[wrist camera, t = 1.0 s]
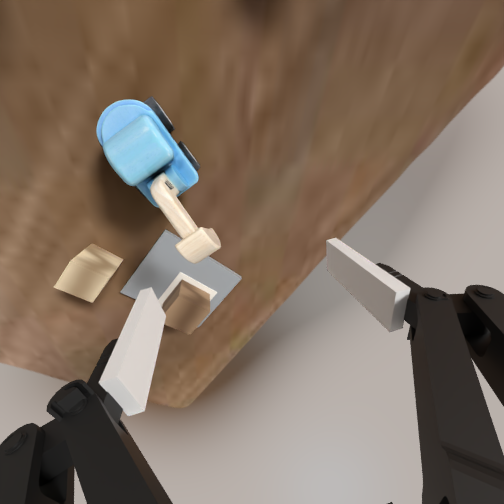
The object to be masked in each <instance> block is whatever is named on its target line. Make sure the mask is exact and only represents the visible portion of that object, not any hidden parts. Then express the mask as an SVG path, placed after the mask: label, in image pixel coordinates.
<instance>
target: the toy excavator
mask: <svg viewBox="0 0 504 504" xmlns="http://www.w3.org/2000/svg"><path fill="white" fill-rule="evenodd" d="M174 129H175V128H174V126H173V124H172V123H171V121H170V120H169V118H168V117H167V115H166V114H165V112H164V111H163V110H162V108H161V107H160V105H159V104H158V103H157V102H156V100H155V99H154V98H153V97H152V96H151V97H150V98H148V99H147V100H146V101H144V102H143V103H142V102H140V101H137V100H121V101H118V102H115V103H113V104H111V105H110V106H108V107H107V108H106V109H105V110H104V112H103V113H102V114H101V116H100V118H99V121H98V124H97V137H98V141H99V143H100V145H101V146H102V147H103V149H104V154H105V156H106V158H107V160H108V162H109V163H110V165H111V166H112V168H113V169H114V170H115V172H116V173H117V174H118V175H119V176H120V177H121V178H122V179H123V181H124V182H125V183H126V184H128V185H130V186H135V187H136V188H137V190H138V191H139V192H140V193H141V194H142V195H143V196H144V197H146V198H147V199H148V200H149V201H150V202H151V203H152V204H153V205H154V206H155V207H158V208H160V209H161V210H162V212H163V213H164V214H165V216H166V217H167V219H168V220H169V221H170V223H171V224H172V226H173V227H174V228H175V230H176V231H177V232H178V234H179V235H180V237H181V238H182V240H181V241H180V242H178V243H177V244H176V245H175V247H176V249H177V250H178V252H179V253H180V254H181V255H182V256H183V257H184V258H185V259H186V260H188V261H189V262H191V263H194V264H196V263H199V262H200V261H202V260H203V259H205V258H206V257H208V256H209V255H211V254H212V253H213V252H215V251H216V250H218V249H219V248H220V247H221V243H220V241H219V239H218V237H217V235H216V233H215V232H214V230H213V229H212V228H210V229H207V228H203V227H200V228H199V229H198V228H197V226H196V225H195V223H194V222H193V220H192V219H191V217H190V216H189V215H188V213H187V212H186V210H185V209H184V207H183V206H182V204H181V203H180V202H179V200H178V198H177V197H178V196H179V195H180V194H182V193H183V192H185V191H186V190H187V189H189V188H190V187H191V186H193V185H194V184H196V183H197V182H198V174H197V172H196V171H197V170H198V169H199V168H200V164H199V163H198V162H197V160H196V159H195V158H194V156H193V155H192V154H191V153H190V151H189V150H188V149H187V147H186V146H185V144H184V143H183V142H182V141H180V142H179V143H178V144H177V143H176V142H175V140H174V139H173V138H172V136H171V135H170V133H171V132H172V131H173V130H174Z"/></svg>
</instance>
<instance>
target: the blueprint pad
mask: <svg viewBox="0 0 504 504" xmlns="http://www.w3.org/2000/svg"><path fill="white" fill-rule="evenodd" d="M181 240H182V239H180V238H179V237H177V236H176V235H174V234H172V233H171V232H169V231H168V230H166V229H165V231H164V232H163V233H162V235H161V236H160V238H159V239H158V240H157V242H156V243H155V244H154V246H153V247H152V249H151V250H150V251H149V253H148V254H147V256H146V257H145V258H144V260H143V261H142V262H141V264H140V265H139V267H138V268H137V269H136V271H135V272H134V274H133V275H132V276H131V278H130V279H129V280H128V282H127V283H126V285H125V286H124V287H123V289H122V290H121V292H120V293H123V294H125V295H127V296H129V297H131V298H134V299H137V297H138V294H139V292H140V290H143V289H147V288H151V287H152V289H153V291H154V293H155V295H156V297H157V299H158V301H159V303H160V305H161V307H162V306H163V302H164V301H165V300H166V299H167V297H168V296H169V295H170V293H171V292H172V291H173V290H174V288H175V287H176V286H177V285H178V283H179V282H180V281H181V280H182V279H183V280H184V281H186V282H188V283H190V284H192V285H194V286H196V287H198V288H199V289H201V290H203V291H205V292H207V293H209V294H210V313H209V314H208V315H207V316H206V317H205V318H204V320H203V321H202V322H201V323H200V324H199V325H198V326H197V327H199V326H200V325H201V324H202V323H203V322H204V321H205V320H206V318H207V317H208V316H209V315H210V314H211V313H212V312H213V310H214V309H215V308H216V307H217V306H218V305H219V304H220V302H221V301H222V300H223V299H224V298H225V297H226V296H227V295H228V293H229V292H230V291H231V290H232V289H233V288H234V287H235V285H236V284H237V283H238V282H239V281H240V280H241V279H242V278H241V276H240V275H238V274H237V273H235V272H233V271H232V270H230V269H229V268H227V267H225V266H224V265H222V264H221V263H219V262H217V261H216V260H214V259H213V258H211V257H209V256H208V257H206V258H205V259H203V260H202V261H200V262H199V263H196V264H194V263H191V262H189V261H188V260H186V259H185V258H184V257H183V256H182V255H181V254H180V253H179V252H178V250H177V249H176V247H175V245H176V244H177V243H178V242H180V241H181Z"/></svg>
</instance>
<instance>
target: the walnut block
mask: <svg viewBox="0 0 504 504" xmlns="http://www.w3.org/2000/svg"><path fill="white" fill-rule="evenodd" d="M162 309H163V311H164V313H165V315H166V319H165V323H164V325H167V326H169V327H172V328H174V329H176V330H179V331H181V332H184V333H186V334H188V335H190V334H191V333H192V332H193V331H194V330H195V329H196V328H197V326H198V325H199V324H200V323H201V322H202V321H203V320H204V318H205V317H206V316H207V315H208V314H209V313H210V294H209V293H207V292H205V291H203V290H201V289H199V288H198V287H196V286H194V285H192V284H190V283H188V282H186V281H184V280H183V279H182V280H181V281H180V282H179V283H178V285H177V286H176V287H175V288H174V290H173V291H172V292H171V293H170V295H169V296H168V297H167V299H166V300H165V301H164V302H163V306H162Z"/></svg>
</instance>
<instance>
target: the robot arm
mask: <svg viewBox="0 0 504 504" xmlns="http://www.w3.org/2000/svg"><path fill="white" fill-rule="evenodd" d="M326 247H327V271H328V272H329V273H330V274H331V275H332V276H333V277H334V278H335V279H336V280H337V281H338V282H339V283H341V284H342V286H343V287H344V288H345V289H346V290H347V291H348V292H350V294H351V295H353V296H354V297H355V298H356V299H357V300H358V301H359V302H360V303H361V304H362V305H363V306H364V307H365V308H366V309H367V310H368V311H369V312H370V313H371V314H372V315H373V316H374V317H375V318H376V319H377V320H378V321H379V322H380V323H381V324H382V325H383V326H384V327H385V328H386V329H387V330H388V331H389V332H392V331H395V330H398V329H401V328H403V323H404V320H405V321H406V322H407V323H408V324H410V328H409V333H408V337H407V340H410V344H411V355H412V365H413V375H414V386H415V397H416V408H417V419H418V430H419V440H420V451H421V462H422V473H423V492H422V504H504V455H503V452H502V449H501V446H500V443H499V440H498V437H497V434H496V431H495V428H494V425H493V422H492V419H491V417H490V413H489V410H488V407H487V404H486V401H485V399H484V395H483V392H482V389H481V386H480V383H479V380H478V377H477V374H476V371H475V368H474V365H473V362H472V360H473V361H474V363H475V364H476V366H477V367H478V369H479V370H480V372H481V373H482V375H483V376H484V378H485V379H486V381H487V382H488V384H489V385H490V387H491V388H492V389H493V391H494V393H495V394H496V396H497V397H498V399H499V400H500V402H501V403H502V405H503V406H504V294H503V293H501V292H499V291H498V290H496V289H494V288H491V287H488V286H483V285H470V286H468V287H467V288H466V290H465V293H464V294H447V293H445V292H444V291H441V290H439V289H435V288H423V287H421V286H419V285H418V284H416V283H415V282H413V281H411V280H410V279H408V278H407V277H405V276H404V275H401V274H400V273H399V272H396V270H394V269H393V268H391V267H389V266H387V265H384V264H381V263H378V264H374V263H372V262H371V261H369V260H368V259H367V258H365V257H364V256H362V255H360V254H359V253H357V252H356V251H354V250H353V249H352V248H350V247H349V246H347V245H346V244H344V243H343V242H341V241H340V240H338V239H337V238H333V239H329V240H326ZM165 319H166V315H165V313H164V311H163V309H162V307H161V305H160V303H159V301H158V299H157V297H156V295H155V293H154V291H153V289H152V287H151V288H147V289H143V290H140V292H139V294H138V297H137V299H136V301H135V303H134V305H133V308H132V310H131V312H130V314H129V317H128V319H127V321H126V323H125V325H124V328H123V330H122V332H121V334H120V336H119V338H118V339H115V340H112V341H111V342H110V343H109V344H108V345H107V346H106V348H105V349H104V351H103V353H102V355H101V357H100V359H99V361H98V363H97V366H96V367H95V369H94V371H93V373H92V375H91V377H90V379H89V381H88V383H87V384H86V383H85V382H84V381H83V380H75V381H72V382H70V383H68V384H67V385H65V386H63V387H62V388H61V389H60V390H59V391H57V392H56V394H55V395H54V396H53V397H52V398H51V400H50V401H49V403H48V405H47V412H48V413H49V414H51V415H52V416H53V417H54V418H55V419H54V420H52V421H50V422H49V423H47V424H45V425H43V426H42V427H39V426H37V425H36V424H34V423H30V424H26V425H24V426H22V427H20V428H18V429H17V430H16V431H14V432H13V433H12V434H10V435H9V436H8V437H7V438H6V439H5V440H4V441H3V442H2V444H1V445H0V504H74V466H75V469H76V472H77V475H78V478H79V481H80V484H81V487H82V490H83V493H84V496H85V499H86V501H87V504H173V503H172V502H171V500H170V499H169V497H168V495H167V493H166V492H165V490H164V489H163V487H162V485H161V484H160V482H159V481H158V479H157V477H156V476H155V474H154V473H153V471H152V469H151V468H150V466H149V464H148V463H147V461H146V459H145V458H144V456H143V455H142V453H141V451H140V450H139V448H138V446H137V445H136V443H135V442H134V440H133V438H132V437H131V435H130V434H129V432H128V430H127V429H126V427H125V426H124V424H123V422H122V421H121V420H120V417H121V414H122V411H124V412H125V413H126V414H127V415H128V416H131V415H134V414H137V413H140V412H143V411H145V407H146V402H147V398H148V394H149V389H150V385H151V380H152V376H153V372H154V367H155V363H156V358H157V354H158V350H159V345H160V341H161V336H162V332H163V328H164V323H165ZM471 358H472V359H471ZM388 504H393V503H392V502H390V503H388Z"/></svg>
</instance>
